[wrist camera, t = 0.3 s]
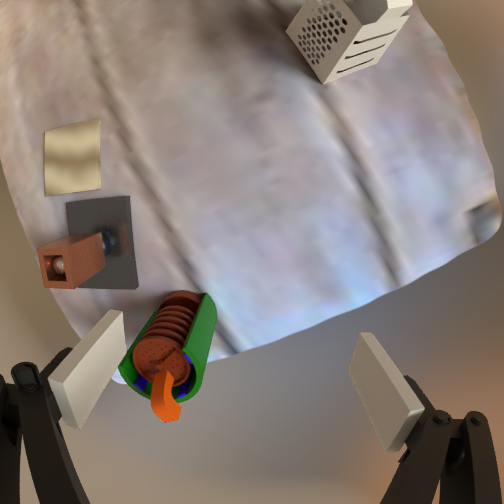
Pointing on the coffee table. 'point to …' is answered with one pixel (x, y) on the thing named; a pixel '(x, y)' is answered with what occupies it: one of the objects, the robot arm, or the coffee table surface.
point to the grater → (348, 32)
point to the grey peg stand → (106, 240)
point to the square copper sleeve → (72, 260)
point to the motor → (171, 352)
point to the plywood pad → (72, 158)
